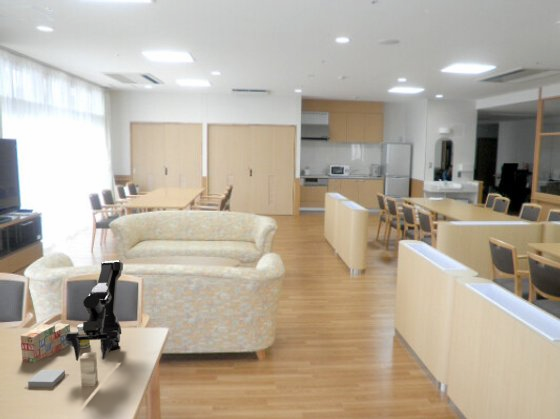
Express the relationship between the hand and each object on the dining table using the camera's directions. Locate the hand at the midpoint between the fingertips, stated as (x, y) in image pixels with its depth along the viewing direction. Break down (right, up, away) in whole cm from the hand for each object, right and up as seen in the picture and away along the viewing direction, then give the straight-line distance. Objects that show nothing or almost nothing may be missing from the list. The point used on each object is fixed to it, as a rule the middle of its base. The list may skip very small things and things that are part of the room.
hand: (90, 359), depth 174 cm
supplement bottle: (-16, -5, +34) cm, 38 cm away
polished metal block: (0, -10, -1) cm, 10 cm away
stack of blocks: (-28, -6, +27) cm, 39 cm away
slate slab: (-16, -8, +1) cm, 18 cm away
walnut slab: (-16, -10, +1) cm, 19 cm away
